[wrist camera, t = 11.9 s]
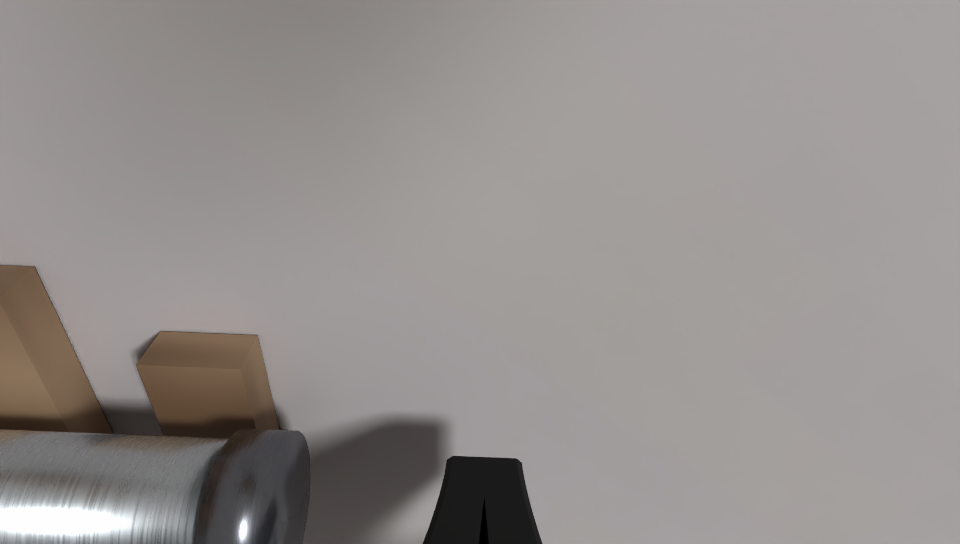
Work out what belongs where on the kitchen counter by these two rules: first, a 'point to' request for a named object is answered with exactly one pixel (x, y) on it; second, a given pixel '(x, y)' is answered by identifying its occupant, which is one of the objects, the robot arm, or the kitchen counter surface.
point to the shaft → (153, 488)
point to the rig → (163, 369)
